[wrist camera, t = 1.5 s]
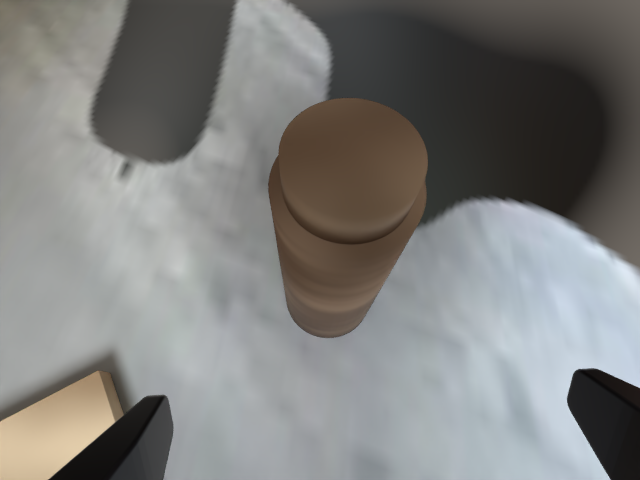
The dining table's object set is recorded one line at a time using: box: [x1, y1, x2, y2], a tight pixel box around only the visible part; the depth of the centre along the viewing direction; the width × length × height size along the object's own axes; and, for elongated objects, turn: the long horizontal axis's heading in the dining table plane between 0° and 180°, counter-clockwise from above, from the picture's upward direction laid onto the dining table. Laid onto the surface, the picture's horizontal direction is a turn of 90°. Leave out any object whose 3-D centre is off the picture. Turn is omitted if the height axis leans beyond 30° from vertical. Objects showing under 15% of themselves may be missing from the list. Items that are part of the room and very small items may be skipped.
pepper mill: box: [268, 98, 428, 338], centre depth 16 cm, size 5×5×13 cm
